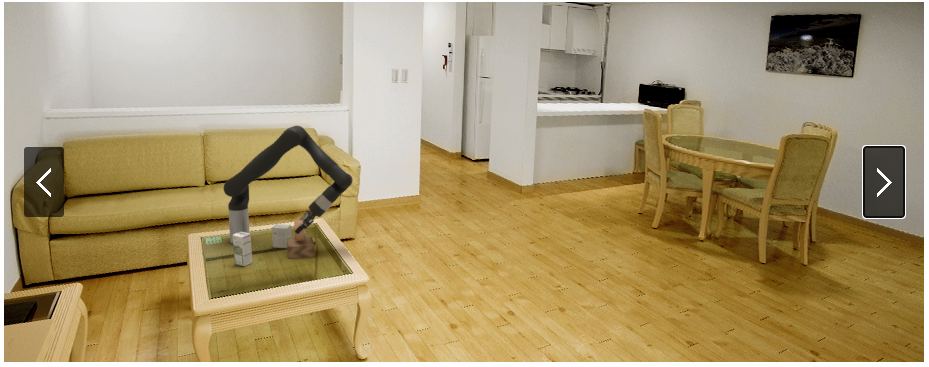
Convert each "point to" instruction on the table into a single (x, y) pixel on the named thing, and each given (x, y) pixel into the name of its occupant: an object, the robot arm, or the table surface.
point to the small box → (281, 235)
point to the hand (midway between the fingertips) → (295, 230)
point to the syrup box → (242, 248)
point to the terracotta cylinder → (302, 234)
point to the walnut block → (300, 248)
